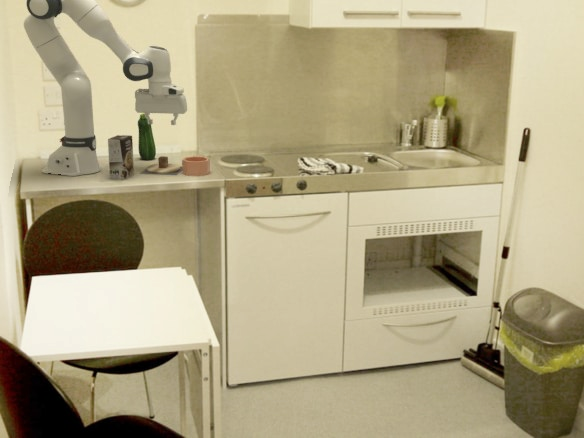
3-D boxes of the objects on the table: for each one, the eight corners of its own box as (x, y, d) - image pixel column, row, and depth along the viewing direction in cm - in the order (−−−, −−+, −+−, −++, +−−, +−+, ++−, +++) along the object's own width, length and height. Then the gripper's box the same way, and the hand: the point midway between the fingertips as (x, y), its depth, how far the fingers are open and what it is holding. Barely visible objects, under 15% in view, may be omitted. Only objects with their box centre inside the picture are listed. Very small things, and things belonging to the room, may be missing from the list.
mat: (139, 174, 294) (139, 173, 294) (151, 166, 308) (151, 165, 308) (176, 176, 292) (176, 175, 292) (187, 168, 306) (186, 166, 306)
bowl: (180, 176, 292) (179, 161, 290) (187, 170, 302) (187, 156, 300) (205, 177, 291) (205, 162, 289) (211, 171, 300) (211, 157, 298)
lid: (142, 173, 294) (141, 160, 293) (153, 165, 307) (152, 153, 305) (174, 174, 293) (174, 161, 291) (183, 167, 305) (183, 154, 304)
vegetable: (159, 160, 320) (157, 113, 314) (145, 162, 315) (143, 115, 309) (149, 157, 325) (147, 111, 319) (135, 160, 320) (133, 113, 314)
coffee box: (125, 181, 283) (123, 139, 279) (109, 180, 285) (106, 138, 280) (135, 176, 292) (132, 135, 287) (119, 175, 293) (117, 134, 288)
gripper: (131, 89, 289) (133, 125, 293) (183, 90, 286) (184, 126, 290) (137, 87, 295) (139, 122, 299) (187, 88, 292) (188, 123, 296)
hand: (161, 124), depth 294 cm, fingers open, 8 cm apart
